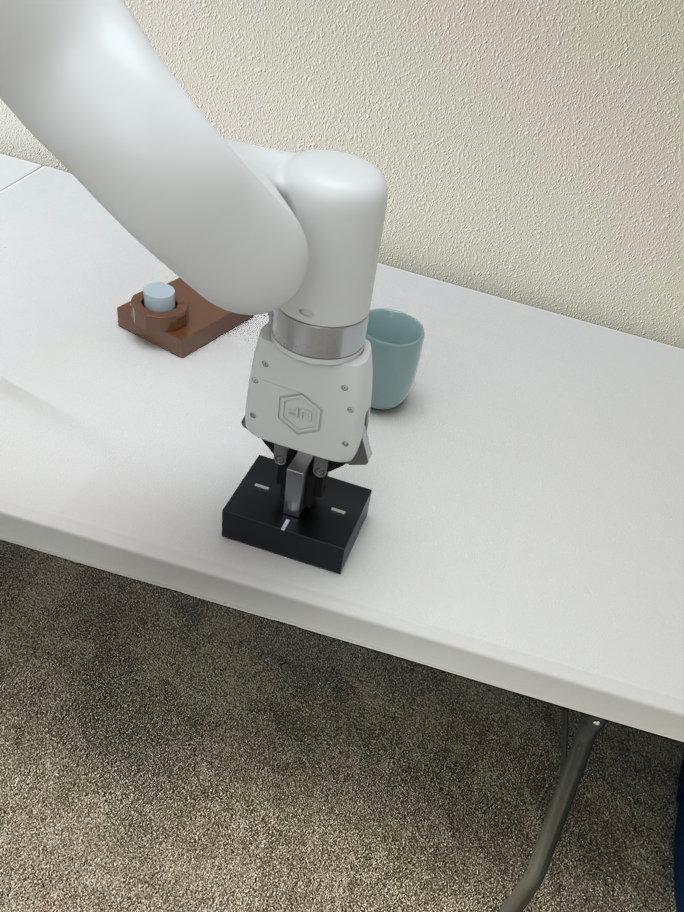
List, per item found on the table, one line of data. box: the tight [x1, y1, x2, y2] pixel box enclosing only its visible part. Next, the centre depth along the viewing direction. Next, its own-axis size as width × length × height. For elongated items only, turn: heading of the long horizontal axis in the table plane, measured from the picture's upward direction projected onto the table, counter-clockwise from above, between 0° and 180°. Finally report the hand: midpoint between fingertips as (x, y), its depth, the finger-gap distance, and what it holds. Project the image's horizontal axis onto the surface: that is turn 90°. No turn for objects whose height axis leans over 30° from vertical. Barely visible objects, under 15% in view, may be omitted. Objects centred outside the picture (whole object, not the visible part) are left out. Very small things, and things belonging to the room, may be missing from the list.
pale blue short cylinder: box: [142, 281, 175, 312], centre depth 93 cm, size 4×4×2 cm
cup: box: [365, 307, 426, 410], centre depth 92 cm, size 8×8×10 cm
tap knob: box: [283, 451, 315, 517], centre depth 73 cm, size 5×2×6 cm, turn 165°
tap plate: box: [221, 454, 373, 575], centre depth 76 cm, size 12×9×4 cm
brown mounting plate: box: [116, 277, 255, 359], centre depth 98 cm, size 15×10×4 cm, turn 150°
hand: (300, 493), depth 75 cm, fingers closed on tap knob
